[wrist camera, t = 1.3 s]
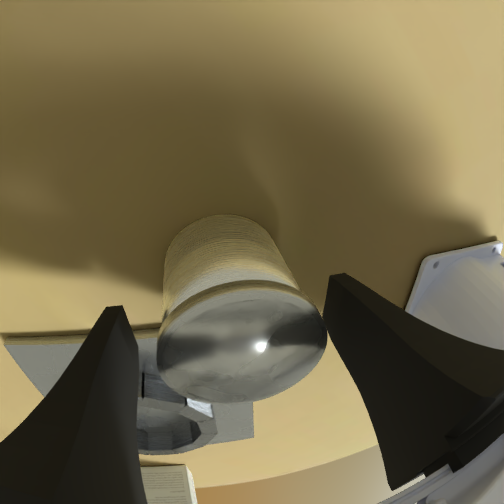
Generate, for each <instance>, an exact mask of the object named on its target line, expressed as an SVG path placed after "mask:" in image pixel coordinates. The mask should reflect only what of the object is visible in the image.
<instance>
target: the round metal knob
mask: <svg viewBox="0 0 504 504" xmlns="http://www.w3.org/2000/svg"><path fill="white" fill-rule="evenodd" d="M326 344H327V329H326V325H325V323H324V321H323V319H322V317H321V315H320V313H319V312H318V310H317V308H316V306H315V305H314V303H313V302H312V301H311V299H310V298H309V297H307V296H306V295H305V294H304V293H303V292H302V291H301V290H300V288H299V286H298V284H297V282H296V281H295V279H294V277H293V275H292V273H291V272H290V270H289V268H288V266H287V264H286V263H285V261H284V259H283V257H282V255H281V254H280V252H279V250H278V248H277V247H276V245H275V243H274V241H273V239H272V238H271V236H270V235H269V233H268V232H267V231H266V230H265V229H264V228H263V227H262V226H260V225H259V224H258V223H256V222H254V221H252V220H250V219H248V218H245V217H242V216H237V215H229V214H221V215H213V216H208V217H205V218H202V219H199V220H197V221H195V222H193V223H191V224H190V225H188V226H187V227H185V228H184V229H183V230H182V231H180V232H179V234H178V235H177V236H176V237H175V238H174V239H173V241H172V242H171V244H170V246H169V248H168V250H167V253H166V257H165V263H164V280H163V303H162V326H161V328H160V330H159V333H158V337H157V350H156V360H157V368H158V371H159V374H160V376H161V377H162V379H163V380H164V382H165V383H166V384H167V385H168V386H169V387H170V388H171V389H172V390H174V391H175V392H177V393H178V394H180V395H182V396H184V397H186V398H189V399H191V400H194V401H198V402H202V403H207V404H216V405H235V404H244V403H250V402H254V401H258V400H262V399H265V398H268V397H271V396H274V395H276V394H278V393H280V392H283V391H284V390H286V389H288V388H290V387H292V386H293V385H295V384H296V383H298V382H299V381H300V380H302V379H303V378H304V377H305V376H306V375H307V374H309V373H310V372H311V371H312V369H313V368H314V367H315V366H316V365H317V363H318V362H319V360H320V359H321V357H322V355H323V353H324V351H325V348H326Z"/></svg>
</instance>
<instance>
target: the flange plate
mask: <svg viewBox="0 0 504 504" xmlns="http://www.w3.org/2000/svg"><path fill="white" fill-rule="evenodd" d="M159 330H160V328H157V329H147V330H137V331H133V334H134V336H135V339H136V341H137V344H138V347H139V387H138V404H137V444H138V453H139V454H144V455H149V454H150V455H168V454H179V453H184V452H187V451H191V450H194V449H197V448H200V447H203V446H205V445H208V444H216V443H224V442H230V441H237V440H243V439H248V438H254V426H253V402H250V403H244V404H235V405H216V404H207V403H202V402H198V401H194V400H191V399H189V398H186V397H184V396H182V395H180V394H178V393H177V392H175V391H174V390H172V389H171V388H170V387H169V386H168V385H167V384H166V383H165V382H164V380H163V379H162V377H161V376H160V374H159V371H158V368H157V360H156V350H157V337H158V333H159ZM87 336H88V334H87V335H70V336H48V337H7V338H6V341H5V343H4V346H5V347H6V349H7V350H8V352H9V353H10V355H11V356H12V357H13V359H14V360H15V361H16V363H17V364H18V365H19V367H20V368H21V369H22V371H23V372H24V373H25V374H26V376H27V377H28V378H29V379H30V381H31V382H32V383H33V384H34V385H35V387H36V388H37V389H38V390H39V391H40V393H41V394H42V395H43V396H44V397H45V396H46V395H47V394H48V392H49V391H50V390H51V389H52V387H53V386H54V385H55V383H56V382H57V381H58V379H59V378H60V377H61V375H62V374H63V372H64V371H65V369H66V368H67V366H68V365H69V364H70V362H71V361H72V359H73V358H74V356H75V355H76V353H77V352H78V350H79V348H80V347H81V345H82V344H83V342H84V341H85V339H86V337H87Z"/></svg>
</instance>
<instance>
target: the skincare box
mask: <svg viewBox="0 0 504 504" xmlns="http://www.w3.org/2000/svg"><path fill="white" fill-rule="evenodd" d="M140 468H141V474H142V480H143V485H144V490H145V495H146V499H147V503H148V504H197V499H196V494H195V488H194V482H193V476H192V473H191V472H190V471H189V469H188V468H187V466H186V465H177V466H156V467H140Z"/></svg>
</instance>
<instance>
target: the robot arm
mask: <svg viewBox="0 0 504 504" xmlns="http://www.w3.org/2000/svg"><path fill="white" fill-rule="evenodd" d="M502 247H503V243H502V242H501V241H494V242H490V243H486V244H481V245H477V246H472V247H468V248H463V249H459V250H454V251H449V252H444V253H440V254H435V255H430V256H427V257H426V258H425V259H424V260H423V261H422V263H421V266H420V269H419V273H418V276H417V279H416V281H415V284H414V287H413V290H412V293H411V296H410V298H409V301H408V304H407V306H406V309H405V311H404V310H402V309H401V308H399V307H398V306H396V305H394V304H393V303H391V302H390V301H388V300H386V299H385V298H383V297H382V296H380V295H379V294H377V293H376V292H374V291H373V290H371V289H370V288H368V287H366V286H365V285H363V284H362V283H360V282H359V281H357V280H356V279H354V278H352V277H351V276H349V275H347V274H346V273H342V274H336V275H330V277H329V283H328V289H327V295H326V300H325V306H324V311H323V316H322V318H323V320H324V323H325V325H326V328H327V331H328V333H329V336H330V338H331V340H332V342H333V344H334V346H335V348H336V350H337V351H338V353H339V355H340V357H341V359H342V360H343V362H344V364H345V366H346V367H347V369H348V371H349V373H350V375H351V376H352V378H353V380H354V382H355V384H356V385H357V387H358V389H359V391H360V394H361V396H362V398H363V401H364V403H365V406H366V408H367V411H368V413H369V416H370V419H371V422H372V424H373V427H374V430H375V433H376V436H377V440H378V443H379V447H380V450H381V453H382V458H383V461H384V466H385V471H386V475H387V480H388V484H389V486H390V488H391V490H392V491H393V490H395V489H397V488H399V487H401V486H403V485H405V484H407V483H408V482H410V481H412V480H414V479H416V478H417V477H419V476H421V475H423V474H424V475H425V477H426V478H425V479H423V480H421V481H420V482H418V483H416V484H414V485H413V486H411V487H409V488H407V489H405V490H404V491H402V492H400V493H398V494H396V495H394V496H392V497H390V498H388V499H386V500H384V501H382V502H380V503H378V504H415V503H416V502H417V504H504V257H502V256H501V255H500V253H501V250H502ZM138 387H139V347H138V344H137V341H136V339H135V336H134V334H133V331H132V329H131V326H130V324H129V321H128V319H127V316H126V313H125V311H124V308H123V305H121V306H111V307H106V308H105V309H104V311H103V312H102V314H101V315H100V317H99V318H98V320H97V322H96V323H95V325H94V326H93V328H92V329H91V331H90V333H89V334H88V336H87V337H86V339H85V341H84V342H83V344H82V345H81V347H80V348H79V350H78V352H77V353H76V355H75V356H74V358H73V359H72V361H71V362H70V364H69V365H68V366H67V368H66V369H65V371H64V372H63V374H62V375H61V377H60V378H59V379H58V381H57V382H56V383H55V385H54V386H53V387H52V389H51V390H50V391H49V392H48V394H47V395H46V396H45V397H44V399H43V400H42V401H41V402H40V403H39V404H38V406H37V407H36V408H35V409H34V410H33V411H32V412H31V413H30V414H29V416H28V417H27V418H26V419H25V420H24V421H23V422H22V423H21V424H20V425H19V426H18V427H17V428H16V429H15V430H14V431H13V432H12V433H11V434H10V435H8V436H7V437H6V438H5V439H4V440H3V441H2V442H1V443H0V504H148V503H147V499H146V495H145V490H144V485H143V480H142V474H141V468H140V461H139V453H138V444H137V404H138Z"/></svg>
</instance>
